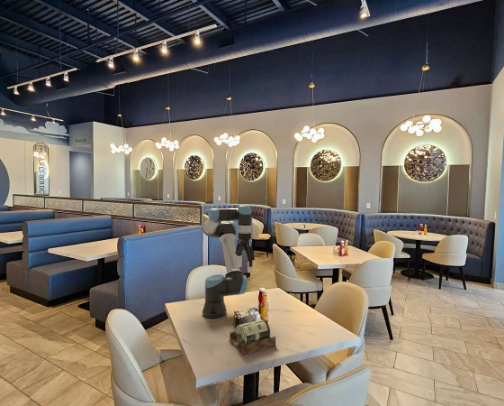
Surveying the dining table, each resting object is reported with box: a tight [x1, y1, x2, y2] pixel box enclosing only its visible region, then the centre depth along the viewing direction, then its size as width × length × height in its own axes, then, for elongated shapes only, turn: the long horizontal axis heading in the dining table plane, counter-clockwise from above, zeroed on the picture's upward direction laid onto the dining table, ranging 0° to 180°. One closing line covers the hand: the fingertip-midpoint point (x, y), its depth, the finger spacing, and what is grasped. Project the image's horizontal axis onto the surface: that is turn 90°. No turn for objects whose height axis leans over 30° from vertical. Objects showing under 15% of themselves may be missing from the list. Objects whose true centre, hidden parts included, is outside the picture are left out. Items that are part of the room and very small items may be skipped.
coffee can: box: [235, 318, 271, 347], centre depth 147 cm, size 10×10×14 cm
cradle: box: [229, 330, 277, 356], centre depth 149 cm, size 18×15×4 cm
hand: (244, 269), depth 169 cm, fingers open, 13 cm apart
